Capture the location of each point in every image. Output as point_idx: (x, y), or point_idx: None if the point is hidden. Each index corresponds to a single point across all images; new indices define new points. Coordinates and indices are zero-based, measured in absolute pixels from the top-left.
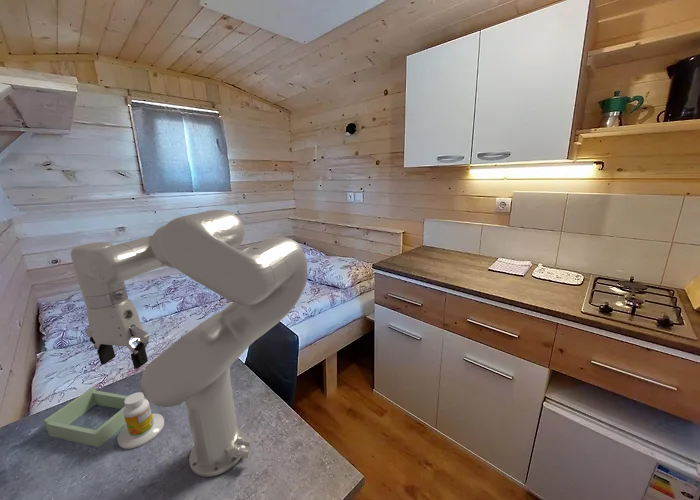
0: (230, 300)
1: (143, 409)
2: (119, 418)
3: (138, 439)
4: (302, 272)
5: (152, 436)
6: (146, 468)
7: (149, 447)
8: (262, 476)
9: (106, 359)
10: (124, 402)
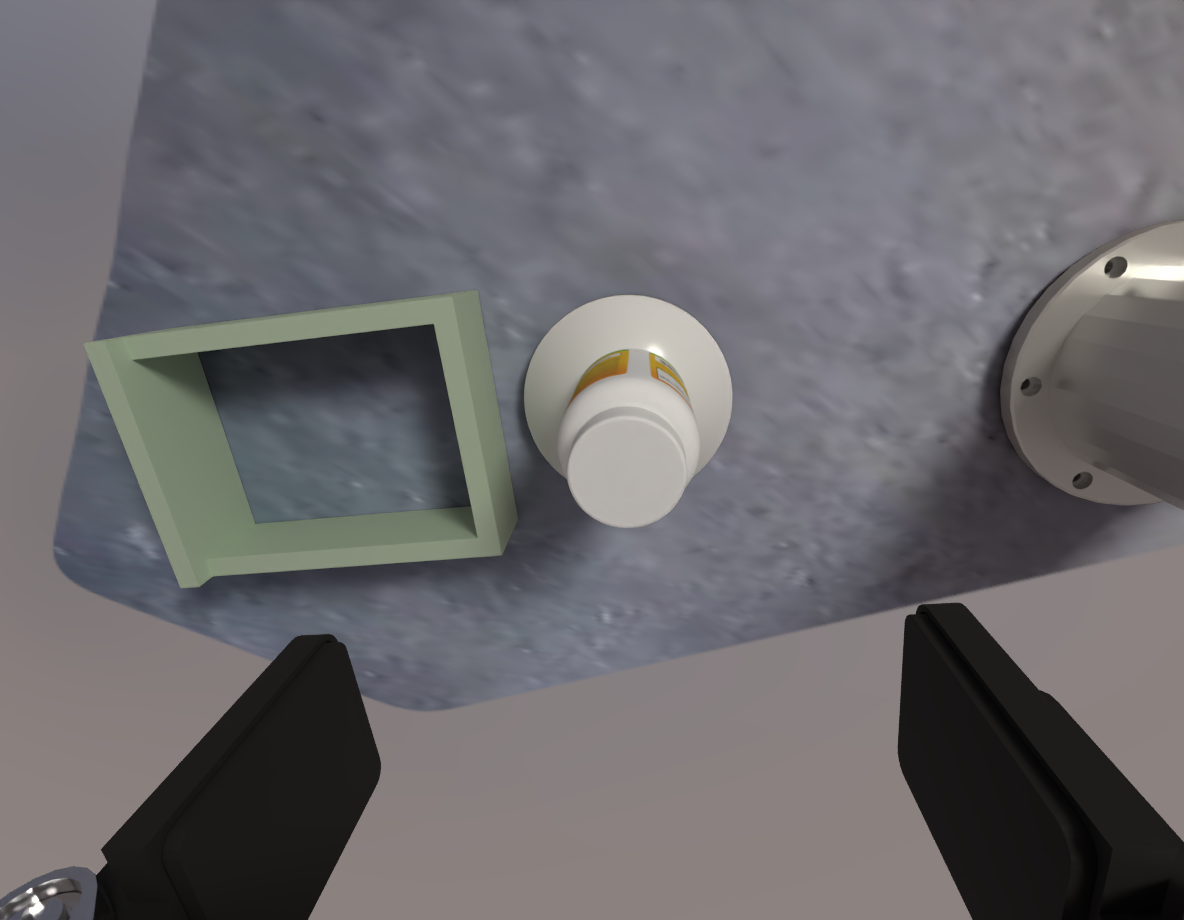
0: None
1: (698, 451)
2: (486, 427)
3: None
4: None
5: (729, 420)
6: (829, 531)
7: (750, 454)
8: None
9: (349, 769)
10: (602, 522)
